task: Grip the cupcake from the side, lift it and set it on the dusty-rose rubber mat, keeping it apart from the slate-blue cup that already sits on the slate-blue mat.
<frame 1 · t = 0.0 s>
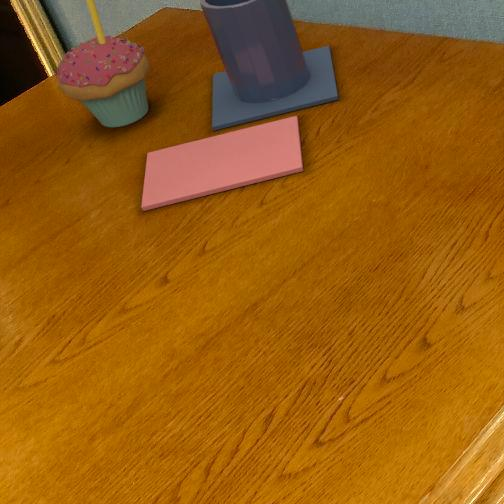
cupcake: (125, 118, 98), on the table
blue mat: (274, 88, 97), on the table
rose mat: (223, 163, 88), on the table
blue cup: (274, 88, 97), resting on blue mat
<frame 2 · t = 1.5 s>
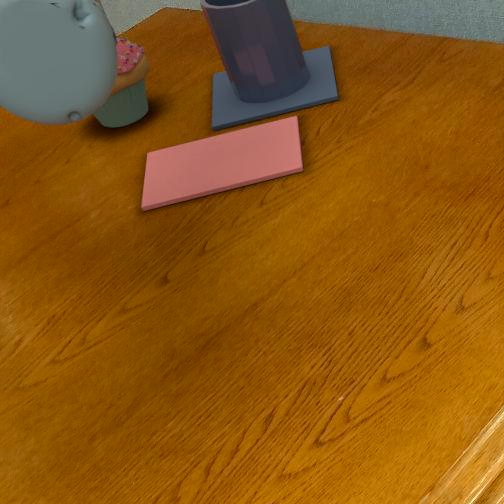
nothing on the table moved.
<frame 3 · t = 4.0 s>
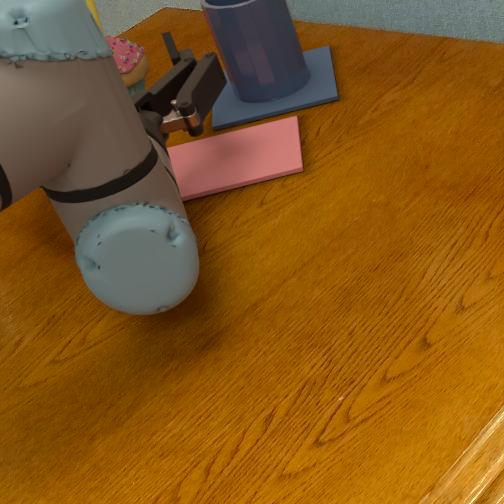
hand: (97, 71, 89), 7 cm above the table, tool horizontal, fingers open, 13 cm apart
nothing on the table moved.
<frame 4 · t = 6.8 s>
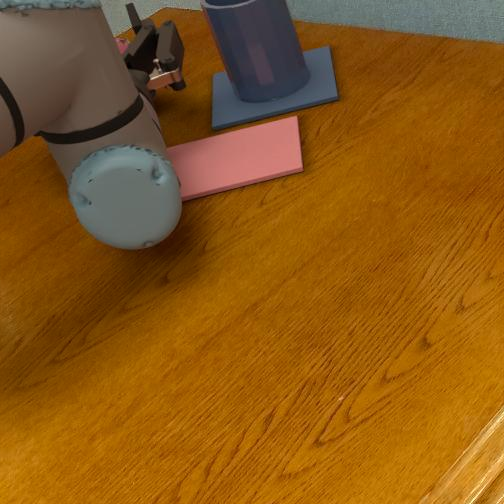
hand: (89, 32, 96), 7 cm above the table, tool horizontal, fingers closed on cupcake, 8 cm apart
cupcake: (125, 118, 98), on the table, touching gripper
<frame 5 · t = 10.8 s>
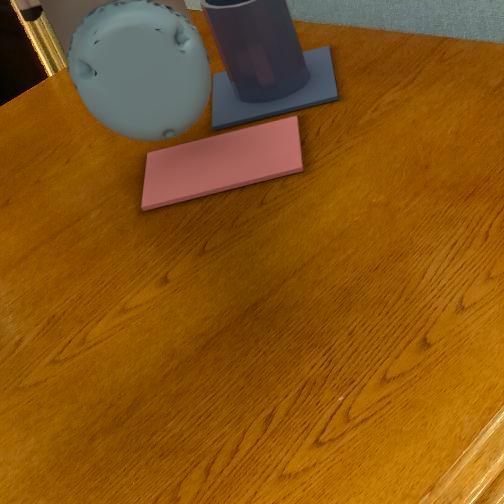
cupcake: (134, 18, 83), point 11 cm above the table, touching gripper
when the fingers open (7 cm above the table, at t = 15.0 s): cupcake stays where it is, resting on rose mat.
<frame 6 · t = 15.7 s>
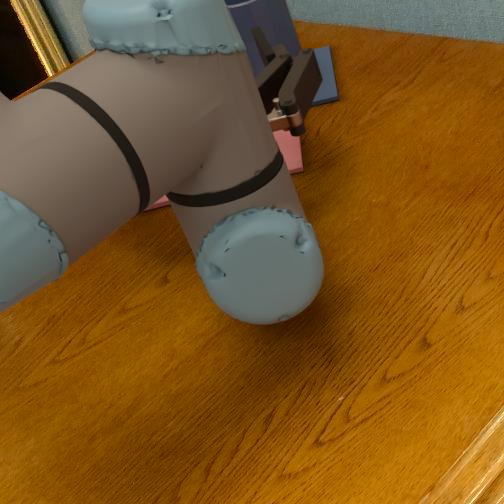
hand: (184, 67, 85), 7 cm above the table, tool horizontal, fingers open, 13 cm apart
cupcake: (222, 161, 88), resting on rose mat
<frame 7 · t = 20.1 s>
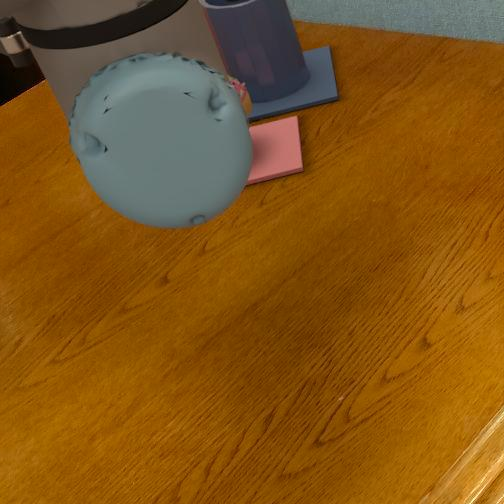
nothing on the table moved.
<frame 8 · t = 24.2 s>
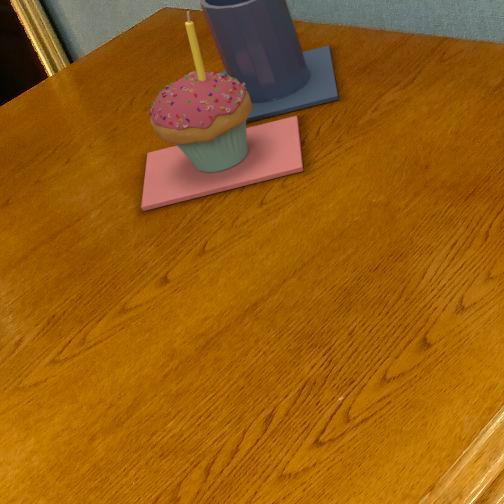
nothing on the table moved.
at the end: cupcake inside the target area (0.1 cm from its centre), resting on rose mat; cupcake tilted 0°; the gripper is holding nothing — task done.
